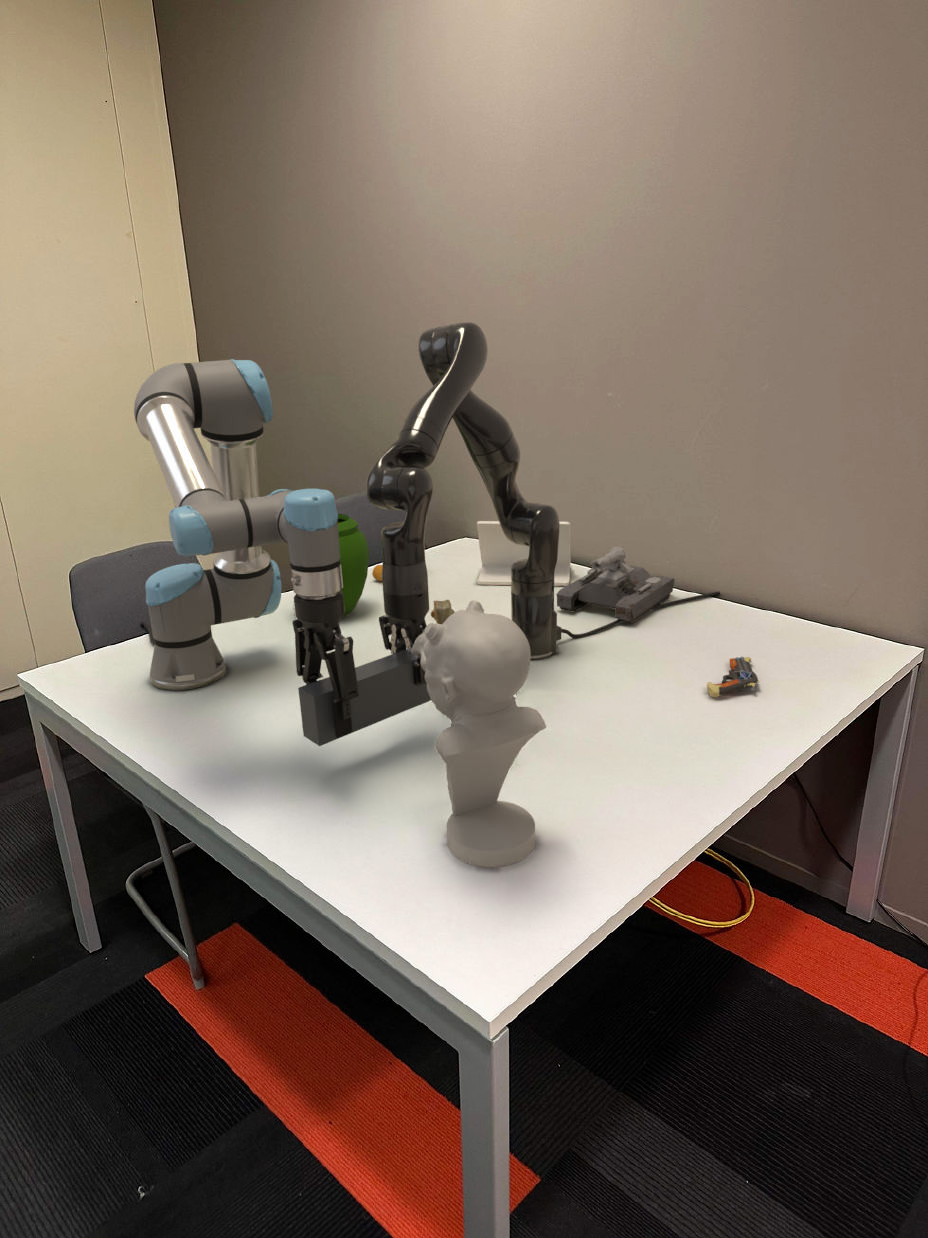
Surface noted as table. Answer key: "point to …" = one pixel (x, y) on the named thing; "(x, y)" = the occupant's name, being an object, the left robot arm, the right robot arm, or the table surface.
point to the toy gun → (735, 678)
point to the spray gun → (377, 572)
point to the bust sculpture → (481, 729)
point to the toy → (616, 588)
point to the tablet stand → (515, 554)
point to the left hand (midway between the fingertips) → (330, 726)
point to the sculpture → (441, 611)
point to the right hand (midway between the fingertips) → (411, 678)
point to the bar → (363, 697)
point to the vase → (352, 561)
